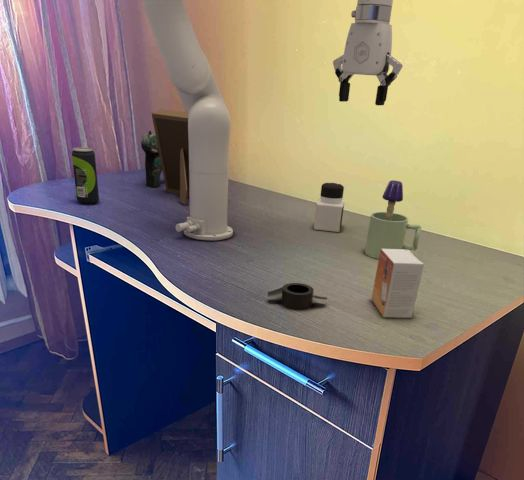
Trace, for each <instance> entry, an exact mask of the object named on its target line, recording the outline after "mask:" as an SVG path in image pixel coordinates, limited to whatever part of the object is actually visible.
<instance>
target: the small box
mask: <svg viewBox="0 0 524 480" xmlns="http://www.w3.org/2000/svg"><path fill="white" fill-rule="evenodd" d="M424 266H425V263H423V262H422V261H420V260H419V258H418V257H417V256H415V255H414V254H413V252H412V251H411V250H404V249H381V250H380V256H379V259H378V262H377V268H376V273H375V277H374V282H373V289H372V294H371V299H370V300H371V301H372V302H373V304H374V305H375V307H376V309H377V310H378V312H379V313H380V315H381V316H382V318H403V319H411V318H412V317H413V314H414V309H415V305H416V301H417V297H418V292H419V287H420V284H421V279H422V274H423V271H424V268H425V267H424Z"/></svg>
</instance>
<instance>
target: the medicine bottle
mask: <svg viewBox="0 0 524 480" xmlns="http://www.w3.org/2000/svg"><path fill="white" fill-rule="evenodd" d="M344 190H345V186H344V185H342V184H341V183H338V182H324V183H322V184H321V187H320V194H319V195H320V197H319V198H318V200H317V202H316V205H315V212H314V213H315V214H314V223H313V230H314V231H316V230H317V231H324V232H331V233H332V232H333V233H340V232H341V229H342V223H343V217H344V216H343V215H344V208H345V201H344V200H343V197H344Z"/></svg>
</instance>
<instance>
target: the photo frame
mask: <svg viewBox="0 0 524 480" xmlns="http://www.w3.org/2000/svg"><path fill="white" fill-rule="evenodd" d="M188 117H189V116H188V114H187V112H186V111H177V110H169V109H161V108H160V109H158V110H155V111H153V112H151V119H152V124H153V129H154V134H155V135H156V140H157V145H158V150H159V155H160V160H161V166H162V176H163V180H164V181H163V182H164V185H165V191H166V192H168V193H172V194H175V195H179V202H180V203H181V204H182V205H184V206H186V205H187V197H190V193H189V138H188Z"/></svg>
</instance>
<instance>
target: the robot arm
mask: <svg viewBox="0 0 524 480" xmlns="http://www.w3.org/2000/svg"><path fill="white" fill-rule="evenodd" d="M393 3H394V0H357V1H356V7H355V10H352V11H351V14H350V16H351V18H353V19H354V22H352V23H351V24H350V27H349V29H348V33H347V37H346V41H345V45H344V50H343V54H342V55H340V56H338V57H337V58H336V59H333V61H332V64H333V69H334V75H335V76H336V78H337V79H338V82H339V90H338V101H339V102H341V103H343V102H344V103H345V102H348V101H349V98H350V91H351V90H350V89H351V83H350V82H349V81H350V80H351V79H352V77H353V76H354V75H360V76H363V75H364V76H376V78H377V81H378V82H379V85H377V88H376V95H375V101H374V105H375V106H384V105H385V102H386V101H387V95H388V90H389V86H391V84H392V83H393V82H394V81H395V80H396V79H397V77H398V75H399V74H400V72H401V70H402V68H403V64H402V63H401V62H400V61H399V60H398V59H396V58H395V57H393V56H392V49H393V48H392V47H393V28H392V27H393V26H392V24H390V23H391V18H392V17H391V16H392V10H393ZM142 6H143V10H144V14H145V17H146V20H147V22H148V25H149V28H150V30H151V33H152V35H153V37H154V41H155V43H156V46H157V49H158V50H159V54H160V55H161V58H162V60H163V62H164V65H165V67H166V70H167V74H168V77H169V79H170V82H171V83H172V85H173V86H174V88H175V89H176V91H177V93H178V95H179V98H180V101H181V102H182V106H183V108H184V109H185V112H186V113H187V114H188V116H189V117H188V138H189V193H190V196H189V216H186V220H185V221H184V222H180V223H176V224H175V231H176V232H178V233H181V232H183V234H184V235H185V236H186V237H188V238H190V239H194V240H200V241H222V240H223V241H224V240H226V239H230V238H231V237H232V236H233V235H234V229H233V228H232V227H231V226H229V225H228V213H229V211H228V209H229V207H228V205H229V168H230V167H229V166H230V165H229V164H230V140H231V115H230V112H229V109H228V107H227V106H226V103H225V100H224V98H223V96H222V93H221V91H220V89H219V85H218V83H217V80H216V78H215V75H214V72H213V70H212V67H211V64H210V62H209V60H208V58H207V56H206V54H205V53H204V52H203V49H202V47H201V45H200V42H199V40H198V37H197V34H196V33H195V30H194V27H193V24H192V21H191V19H190V17H189V14H188V10H187V7H186V5H185V0H142ZM390 67H392V70H391V72H390V73H389V70H390ZM388 73H389V74H388Z"/></svg>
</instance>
